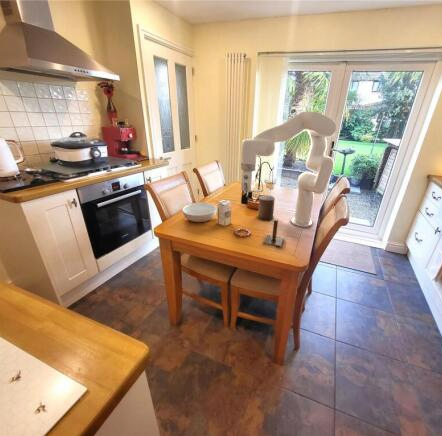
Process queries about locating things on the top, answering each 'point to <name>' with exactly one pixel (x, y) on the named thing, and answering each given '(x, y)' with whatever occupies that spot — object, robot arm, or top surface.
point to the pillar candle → (266, 207)
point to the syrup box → (224, 212)
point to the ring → (242, 235)
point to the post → (274, 237)
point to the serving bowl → (199, 211)
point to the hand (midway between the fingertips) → (246, 200)
